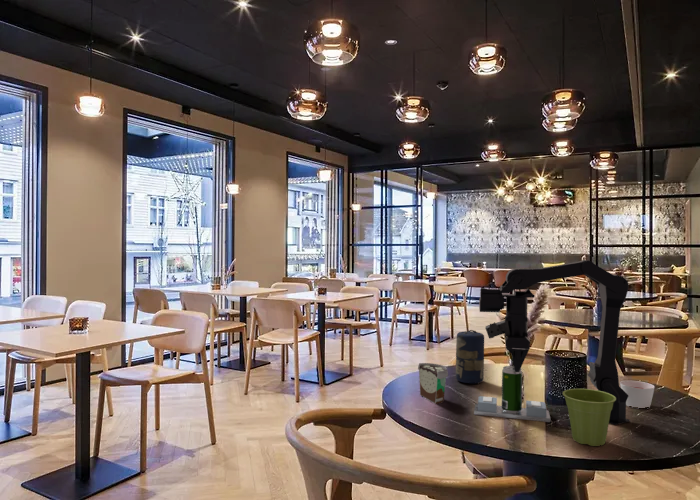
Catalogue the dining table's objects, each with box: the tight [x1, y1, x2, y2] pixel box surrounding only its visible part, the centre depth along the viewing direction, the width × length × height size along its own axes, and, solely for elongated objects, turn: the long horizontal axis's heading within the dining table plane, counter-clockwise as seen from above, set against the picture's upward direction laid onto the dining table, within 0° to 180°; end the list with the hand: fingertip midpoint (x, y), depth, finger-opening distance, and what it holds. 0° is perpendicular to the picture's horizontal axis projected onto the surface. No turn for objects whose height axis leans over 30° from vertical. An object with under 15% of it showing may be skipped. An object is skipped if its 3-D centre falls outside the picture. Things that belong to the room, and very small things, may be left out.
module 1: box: [477, 395, 498, 412], centre depth 146 cm, size 5×6×3 cm
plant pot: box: [562, 388, 616, 447], centre depth 125 cm, size 12×12×11 cm
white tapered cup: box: [619, 380, 655, 409], centre depth 154 cm, size 9×9×6 cm
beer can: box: [501, 365, 523, 413], centre depth 144 cm, size 5×5×12 cm
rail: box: [473, 403, 551, 423], centre depth 144 cm, size 20×7×1 cm, turn 73°
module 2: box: [525, 399, 547, 417], centre depth 143 cm, size 5×6×3 cm
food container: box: [417, 362, 449, 405], centre depth 158 cm, size 12×6×10 cm, turn 22°
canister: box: [455, 329, 485, 384], centre depth 179 cm, size 10×10×18 cm
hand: (516, 368), depth 145 cm, fingers open, 9 cm apart
